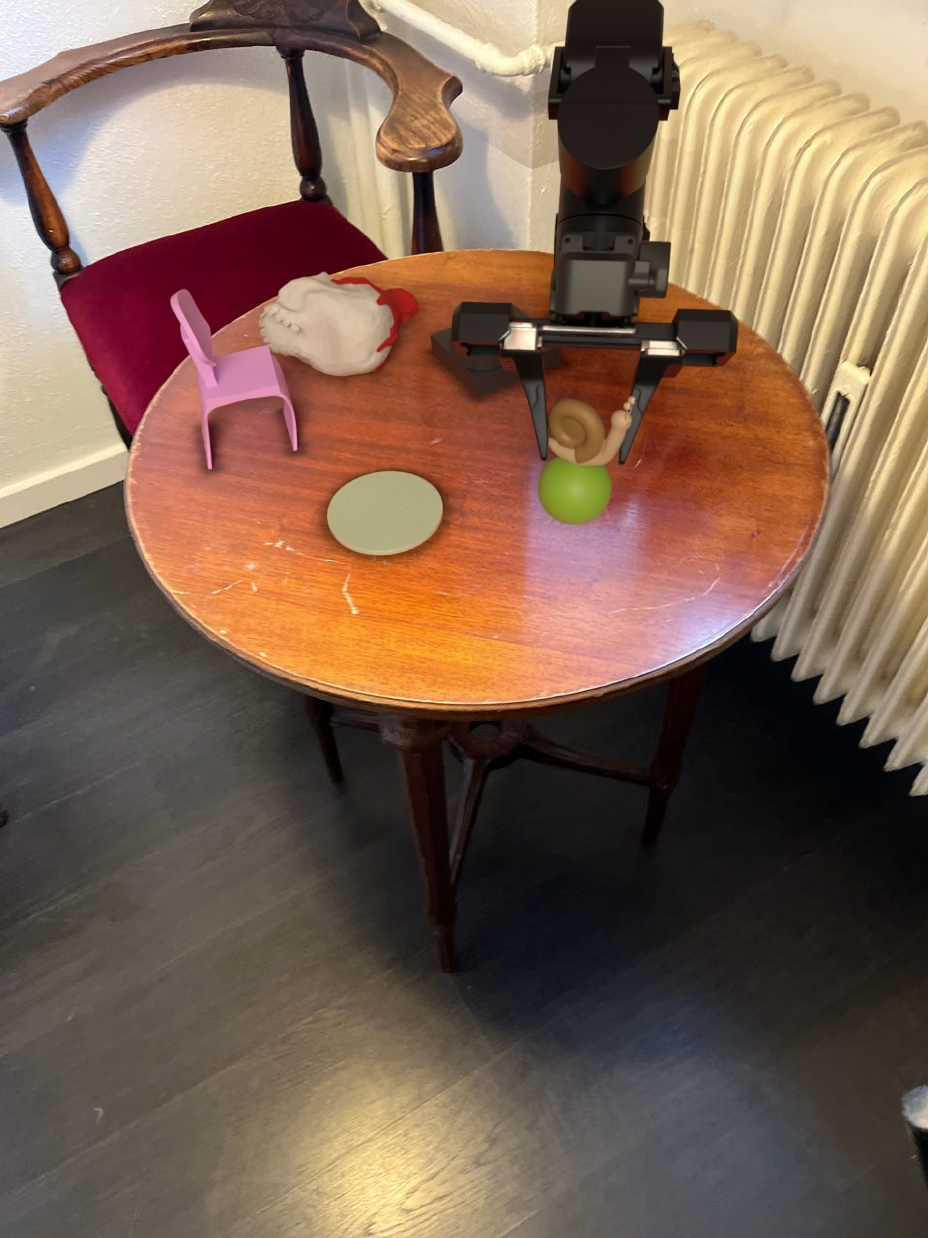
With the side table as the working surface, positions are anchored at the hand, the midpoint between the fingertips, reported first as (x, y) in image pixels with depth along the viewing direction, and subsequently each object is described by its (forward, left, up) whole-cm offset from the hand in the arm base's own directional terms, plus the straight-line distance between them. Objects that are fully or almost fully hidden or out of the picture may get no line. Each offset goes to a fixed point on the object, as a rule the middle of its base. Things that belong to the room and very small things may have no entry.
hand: (582, 462), depth 62 cm
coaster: (+9, -15, -12) cm, 21 cm away
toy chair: (+15, -31, -12) cm, 37 cm away
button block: (-11, -29, -12) cm, 33 cm away
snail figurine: (-1, -1, -7) cm, 7 cm away
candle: (+1, -37, -12) cm, 39 cm away
